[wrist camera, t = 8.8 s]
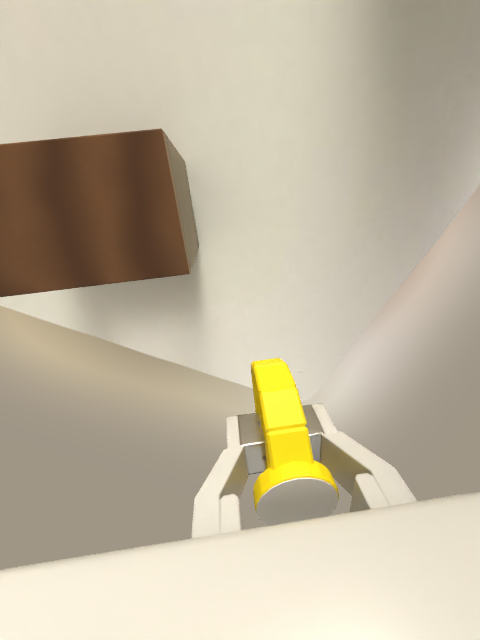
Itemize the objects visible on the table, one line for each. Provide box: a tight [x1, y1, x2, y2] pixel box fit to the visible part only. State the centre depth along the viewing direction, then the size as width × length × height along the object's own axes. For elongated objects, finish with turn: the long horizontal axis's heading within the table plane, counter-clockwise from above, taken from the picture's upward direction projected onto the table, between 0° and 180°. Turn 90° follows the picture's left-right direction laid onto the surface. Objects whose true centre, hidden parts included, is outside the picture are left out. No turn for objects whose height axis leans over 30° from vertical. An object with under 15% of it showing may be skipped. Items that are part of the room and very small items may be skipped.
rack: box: [0, 129, 199, 297], centre depth 22 cm, size 14×9×13 cm, turn 96°
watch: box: [251, 358, 339, 526], centre depth 11 cm, size 6×3×6 cm, turn 6°
